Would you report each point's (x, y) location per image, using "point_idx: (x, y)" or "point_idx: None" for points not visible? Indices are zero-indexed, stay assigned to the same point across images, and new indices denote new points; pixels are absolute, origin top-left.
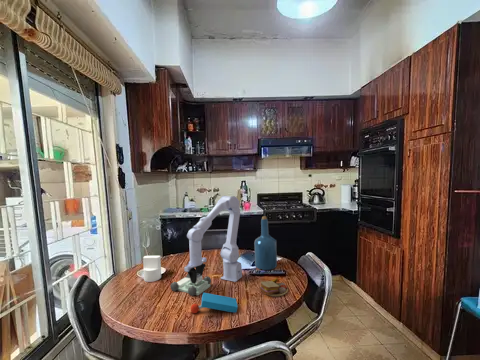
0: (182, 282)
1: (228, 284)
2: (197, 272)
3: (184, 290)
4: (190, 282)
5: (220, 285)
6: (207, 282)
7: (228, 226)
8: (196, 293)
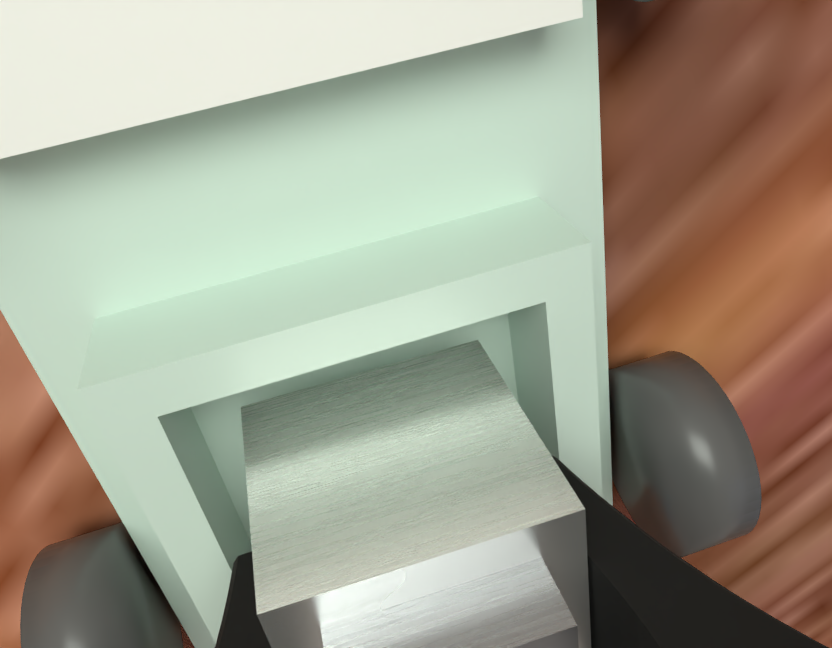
0: (166, 17)
1: (761, 591)
2: (628, 640)
3: (35, 359)
4: (248, 476)
5: None
6: None
7: None
8: (186, 625)
